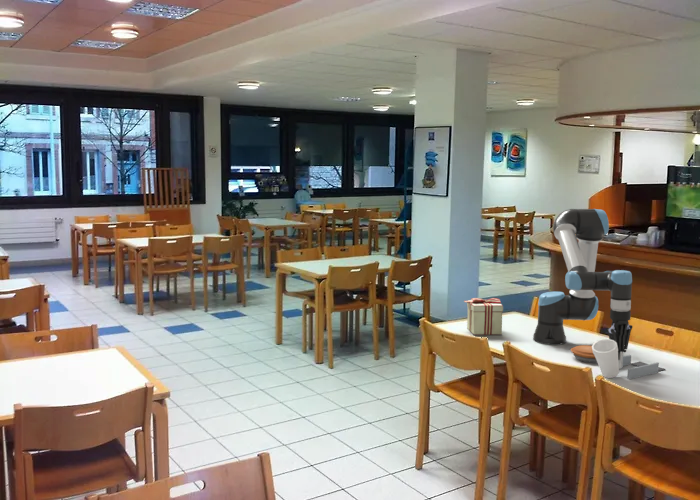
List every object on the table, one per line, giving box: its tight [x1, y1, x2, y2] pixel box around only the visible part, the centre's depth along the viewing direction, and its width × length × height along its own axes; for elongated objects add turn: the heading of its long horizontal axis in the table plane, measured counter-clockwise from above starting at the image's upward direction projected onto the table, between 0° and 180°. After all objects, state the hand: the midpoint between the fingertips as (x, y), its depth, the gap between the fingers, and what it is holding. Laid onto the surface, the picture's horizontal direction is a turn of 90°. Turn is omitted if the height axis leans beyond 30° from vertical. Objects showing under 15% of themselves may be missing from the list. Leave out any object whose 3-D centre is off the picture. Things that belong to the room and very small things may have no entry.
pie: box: [570, 344, 598, 364], centre depth 283 cm, size 16×16×5 cm
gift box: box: [463, 297, 504, 336], centre depth 329 cm, size 17×18×17 cm
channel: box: [622, 354, 659, 380], centre depth 266 cm, size 14×18×4 cm
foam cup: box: [591, 338, 620, 379], centre depth 257 cm, size 10×9×13 cm
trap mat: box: [630, 361, 666, 373], centre depth 272 cm, size 12×6×1 cm, turn 30°
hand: (618, 367), depth 261 cm, fingers closed
